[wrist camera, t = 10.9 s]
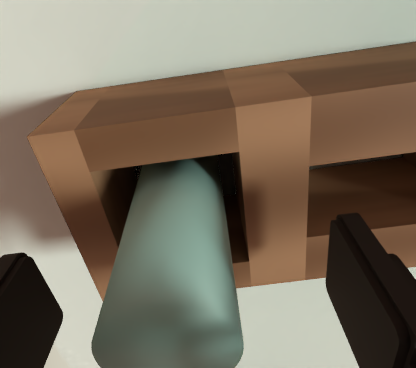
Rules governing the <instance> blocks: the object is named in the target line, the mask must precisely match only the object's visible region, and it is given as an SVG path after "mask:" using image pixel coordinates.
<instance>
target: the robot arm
mask: <svg viewBox="0 0 416 368" xmlns="http://www.w3.org/2000/svg"><path fill="white" fill-rule="evenodd" d="M326 288H327V292H328V294H329V297H330V299H331V302H332V304H333V306H334V309H335V311H336V313H337V316H338V318H339V321H340V323H341V325H342V328H343V330H344V332H345V335H346V337H347V339H348V342H349V344H350V347H351V349H352V351H353V354H354V356H355V358H356V361H357V363H358V365H359V368H416V279H415V278H414V277H413V275H412V274H411V273H410V271H409V270H408V269H407V267H406V266H405V265H404V263H403V262H402V261H401V259H400V258H399V257H398V256H397V255H395V254H393V253H392V254H388V253H387V252H386V251H385V249H384V248H383V246H382V245H381V244H380V242H379V241H378V239H377V238H376V237H375V235H374V234H373V232H372V231H371V229H370V228H369V227H368V225H367V224H366V222H365V221H364V220H363V218H362V217H361V215H360V214H359V213H357V212H356V213H348V214H339V215H337V217H336V220H332V221H331V222H330V233H329V246H328V258H327V271H326ZM62 320H63V312H62V310H61V308H60V306H59V304H58V303H57V301H56V299H55V297H54V295H53V294H52V292H51V290H50V288H49V287H48V285H47V283H46V281H45V280H44V278H43V276H42V274H41V272H40V271H39V269H38V267H37V265H36V264H35V262H34V260H33V259H32V258H31V257H28V256H27V254H25V253H15V254H7V255H3V256H2V257H1V258H0V368H44V365H45V363H46V360H47V358H48V355H49V353H50V350H51V348H52V346H53V343H54V341H55V338H56V336H57V333H58V331H59V328H60V326H61V324H62Z"/></svg>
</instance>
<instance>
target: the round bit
mask: <svg viewBox="0 0 416 368" xmlns="http://www.w3.org/2000/svg"><path fill="white" fill-rule="evenodd" d="M243 349H244V348H243V336H242V329H241V322H240V315H239V307H238V300H237V293H236V285H235V278H234V271H233V264H232V256H231V249H230V242H229V235H228V227H227V220H226V213H225V205H224V198H223V191H222V184H221V176H220V169H219V162H218V155H211V156H204V157H197V158H189V159H182V160H175V161H167V162H160V163H153V164H145V165H142V168H141V171H140V175H139V178H138V182H137V185H136V189H135V192H134V196H133V199H132V203H131V206H130V210H129V213H128V217H127V220H126V224H125V227H124V231H123V234H122V238H121V241H120V245H119V248H118V252H117V255H116V259H115V262H114V266H113V269H112V273H111V276H110V280H109V283H108V287H107V290H106V294H105V297H104V301H103V304H102V308H101V311H100V315H99V318H98V321H97V325H96V328H95V332H94V335H93V339H92V353H93V356H94V358H95V360H96V362H97V363H98V365H99V366H100V367H101V368H234V367H235V366H236V365H237V364H238V362H239V361H240V359H241V357H242V354H243Z"/></svg>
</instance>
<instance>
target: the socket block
mask: <svg viewBox="0 0 416 368" xmlns="http://www.w3.org/2000/svg"><path fill="white" fill-rule="evenodd" d="M27 139H28V141H29V143H30V145H31V147H32V149H33V152H34V154H35V156H36V158H37V160H38V162H39V164H40V167H41V169H42V171H43V173H44V175H45V177H46V180H47V182H48V184H49V186H50V188H51V190H52V193H53V195H54V197H55V199H56V201H57V203H58V206H59V208H60V210H61V212H62V214H63V216H64V219H65V221H66V223H67V225H68V227H69V229H70V231H71V234H72V236H73V238H74V240H75V242H76V244H77V247H78V249H79V251H80V253H81V255H82V257H83V260H84V262H85V264H86V266H87V268H88V270H89V273H90V275H91V277H92V279H93V281H94V283H95V286H96V288H97V290H98V292H99V294H100V296H101V298H102V301H104V297H105V294H106V290H107V287H108V283H109V280H110V276H111V273H112V269H113V266H114V262H115V259H116V255H117V252H118V248H119V245H120V241H121V238H122V234H123V231H124V227H125V224H126V220H127V217H128V213H129V210H130V206H131V203H132V199H133V196H134V192H135V189H136V185H137V179H136V175H135V172H134V168H133V166H138V165H145V164H153V163H160V162H167V161H175V160H182V159H189V158H197V157H204V156H211V155H219V154H226V153H232V162H233V172H234V181H235V191H236V194H231V195H224V196H223V198H224V205H225V213H226V220H227V227H228V235H229V242H230V249H231V256H232V264H233V271H234V278H235V285H236V288H243V287H251V286H259V285H267V284H276V283H284V282H292V281H301V280H309V279H317V278H326V271H327V258H328V246H329V233H330V222H331V221H332V220H336V217H337V215H339V214H348V213H356V212H357V213H359V214H360V215H361V217H362V218H363V220H364V221H365V222H366V224H367V225H368V227H369V228H370V229H371V231H372V232H373V234H374V235H375V237H376V238H377V239H378V241H379V242H380V244H381V245H382V246H383V248H384V249H385V251H386V252H387V253H388V254H392V253H393V254H395V255H397V256H398V257H399V258H400V259H401V261H402V262H403V263H404V265H405V266H406V267H407V268H409V267H416V42H411V43H404V44H397V45H390V46H383V47H376V48H370V49H363V50H356V51H349V52H342V53H335V54H329V55H322V56H315V57H308V58H301V59H294V60H288V61H281V62H274V63H267V64H260V65H253V66H247V67H240V68H233V69H226V70H219V71H212V72H206V73H199V74H192V75H185V76H178V77H171V78H165V79H158V80H151V81H144V82H137V83H130V84H124V85H117V86H110V87H103V88H96V89H89V90H83V91H76V92H75V93H74V94H73V95H72V96H71V97H70V98H69V99H68V100H66V101H65V102H64V103H63V104H62V105H61V106H60V107H59V108H58V109H57V110H56V111H54V112H53V113H52V114H51V115H50V116H49V117H48V118H47V119H46V120H45V121H44V122H42V123H41V124H40V125H39V126H38V127H37V128H36V129H35V130H34V131H33V132H31V133H30V134H29V135H28V136H27ZM397 154H403V157H401V158H393V159H386V160H378V161H371V162H363V163H356V164H348V165H341V166H333V167H326V168H318V169H311V170H309V166H315V165H322V164H330V163H337V162H345V161H352V160H360V159H367V158H375V157H382V156H390V155H397Z"/></svg>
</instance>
